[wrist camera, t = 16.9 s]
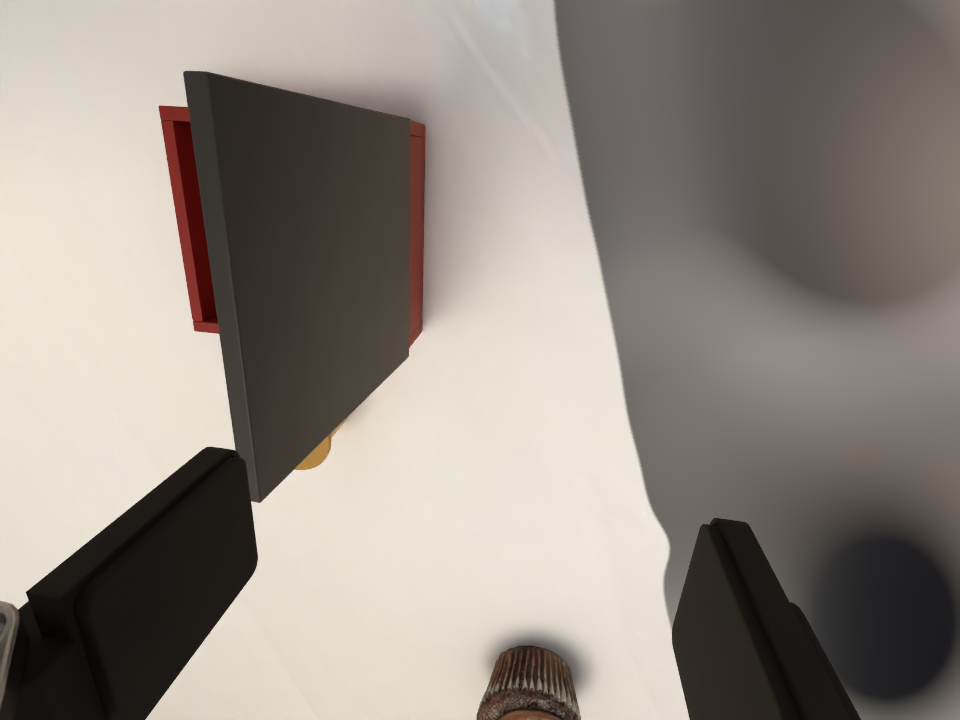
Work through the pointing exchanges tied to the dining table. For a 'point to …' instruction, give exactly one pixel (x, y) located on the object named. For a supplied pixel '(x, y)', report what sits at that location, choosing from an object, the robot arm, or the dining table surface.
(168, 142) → the red open tray
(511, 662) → the cupcake
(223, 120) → the lid
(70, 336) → the dining table surface
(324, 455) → the brass drawer pull
